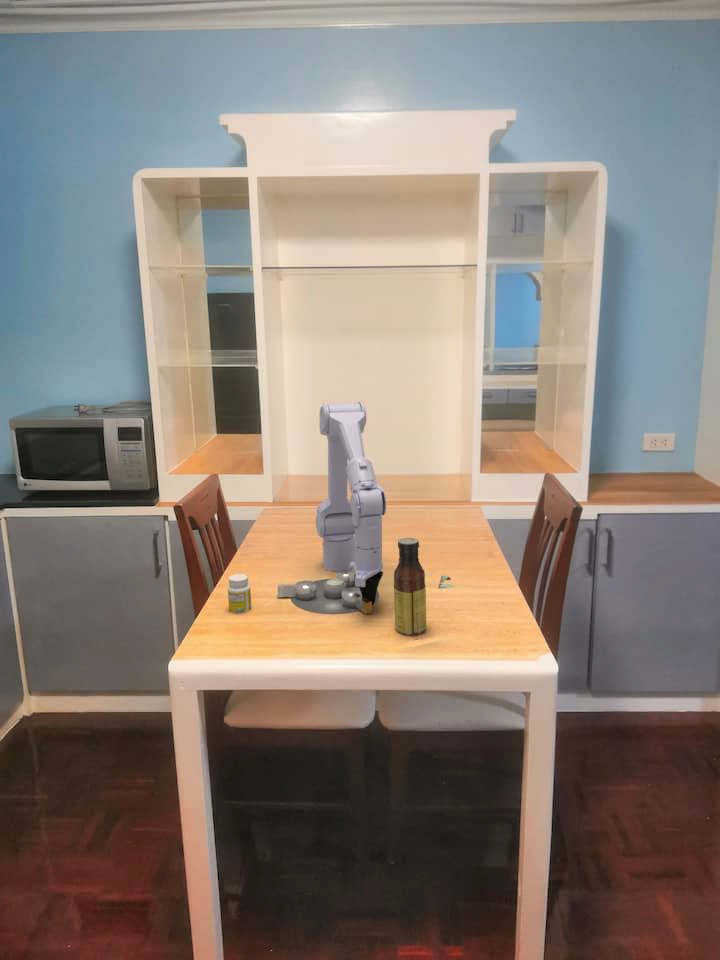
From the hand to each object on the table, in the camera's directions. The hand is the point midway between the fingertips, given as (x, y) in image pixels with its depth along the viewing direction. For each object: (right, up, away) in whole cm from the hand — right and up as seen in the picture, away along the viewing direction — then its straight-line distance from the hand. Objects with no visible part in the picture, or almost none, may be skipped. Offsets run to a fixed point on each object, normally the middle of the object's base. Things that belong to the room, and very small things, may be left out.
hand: (368, 605), depth 141 cm
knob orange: (-2, -1, +1) cm, 3 cm away
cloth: (+12, +2, +21) cm, 24 cm away
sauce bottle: (+8, -4, -9) cm, 13 cm away
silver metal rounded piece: (-16, +1, +7) cm, 17 cm away
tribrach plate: (-8, 0, +8) cm, 11 cm away
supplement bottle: (-28, -2, +1) cm, 28 cm away
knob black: (-3, +2, +13) cm, 13 cm away
